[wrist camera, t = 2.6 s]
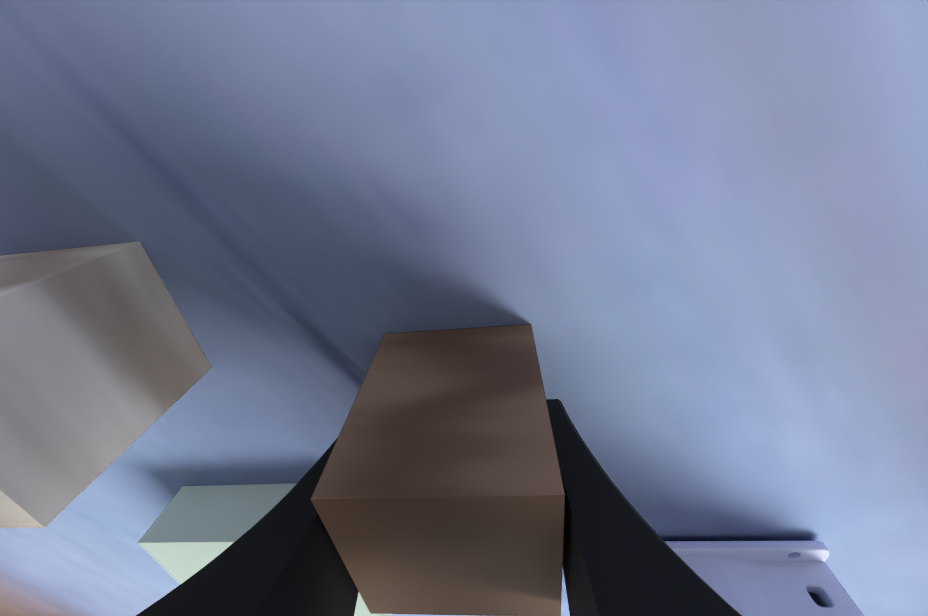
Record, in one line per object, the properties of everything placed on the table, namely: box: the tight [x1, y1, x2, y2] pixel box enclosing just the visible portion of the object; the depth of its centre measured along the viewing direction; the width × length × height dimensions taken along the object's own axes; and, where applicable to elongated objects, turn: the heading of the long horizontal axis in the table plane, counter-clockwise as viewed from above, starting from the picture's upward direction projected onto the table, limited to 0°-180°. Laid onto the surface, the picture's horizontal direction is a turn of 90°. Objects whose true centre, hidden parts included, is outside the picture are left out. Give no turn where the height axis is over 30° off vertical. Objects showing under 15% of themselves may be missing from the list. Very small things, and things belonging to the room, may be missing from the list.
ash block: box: [0, 241, 212, 528], centre depth 10 cm, size 5×5×6 cm
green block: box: [138, 483, 393, 616], centre depth 18 cm, size 9×9×3 cm
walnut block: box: [311, 324, 565, 616], centre depth 11 cm, size 5×5×6 cm
